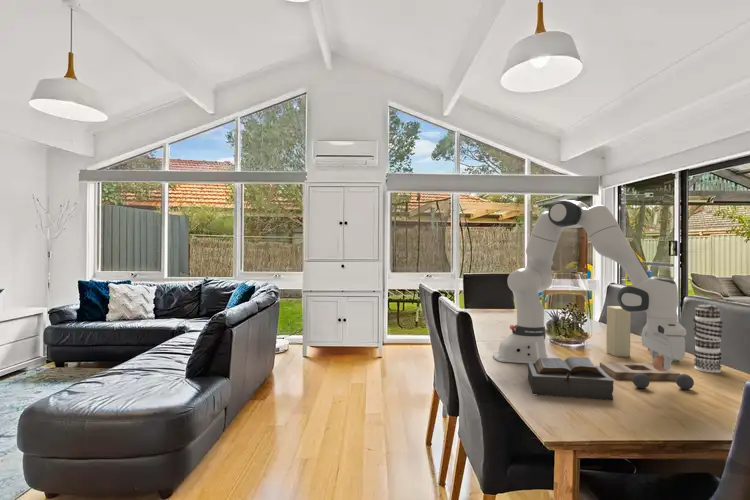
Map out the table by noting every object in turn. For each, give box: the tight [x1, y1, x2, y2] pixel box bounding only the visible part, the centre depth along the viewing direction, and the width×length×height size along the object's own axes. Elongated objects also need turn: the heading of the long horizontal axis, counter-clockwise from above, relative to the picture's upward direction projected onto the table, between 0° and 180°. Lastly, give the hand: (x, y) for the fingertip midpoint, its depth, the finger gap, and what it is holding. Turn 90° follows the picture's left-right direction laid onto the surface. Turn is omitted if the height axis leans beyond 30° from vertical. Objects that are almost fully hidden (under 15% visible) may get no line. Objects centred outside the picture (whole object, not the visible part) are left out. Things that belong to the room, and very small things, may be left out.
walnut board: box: [599, 361, 681, 381], centre depth 168 cm, size 22×14×2 cm, turn 85°
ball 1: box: [631, 373, 651, 389], centre depth 152 cm, size 5×5×5 cm
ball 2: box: [675, 373, 695, 390], centre depth 150 cm, size 5×5×5 cm
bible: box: [527, 356, 615, 401], centre depth 151 cm, size 23×27×10 cm
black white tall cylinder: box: [692, 304, 723, 374], centre depth 174 cm, size 9×9×25 cm
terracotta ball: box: [651, 356, 668, 371], centre depth 151 cm, size 5×5×5 cm
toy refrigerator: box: [606, 305, 632, 357], centre depth 199 cm, size 8×7×21 cm
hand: (661, 366), depth 151 cm, fingers closed on terracotta ball, 5 cm apart
